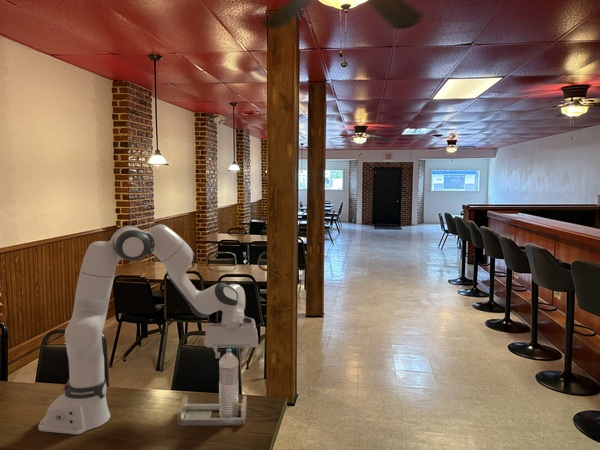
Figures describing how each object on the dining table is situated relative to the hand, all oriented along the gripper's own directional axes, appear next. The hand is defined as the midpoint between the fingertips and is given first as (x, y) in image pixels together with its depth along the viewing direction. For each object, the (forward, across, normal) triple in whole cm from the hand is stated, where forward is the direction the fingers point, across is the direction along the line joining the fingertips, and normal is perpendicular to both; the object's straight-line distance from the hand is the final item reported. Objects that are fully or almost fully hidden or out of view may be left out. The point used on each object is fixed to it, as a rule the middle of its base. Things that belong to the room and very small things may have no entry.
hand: (230, 357), depth 166 cm
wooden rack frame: (+18, -6, +9) cm, 21 cm away
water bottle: (+18, 0, +10) cm, 21 cm away
